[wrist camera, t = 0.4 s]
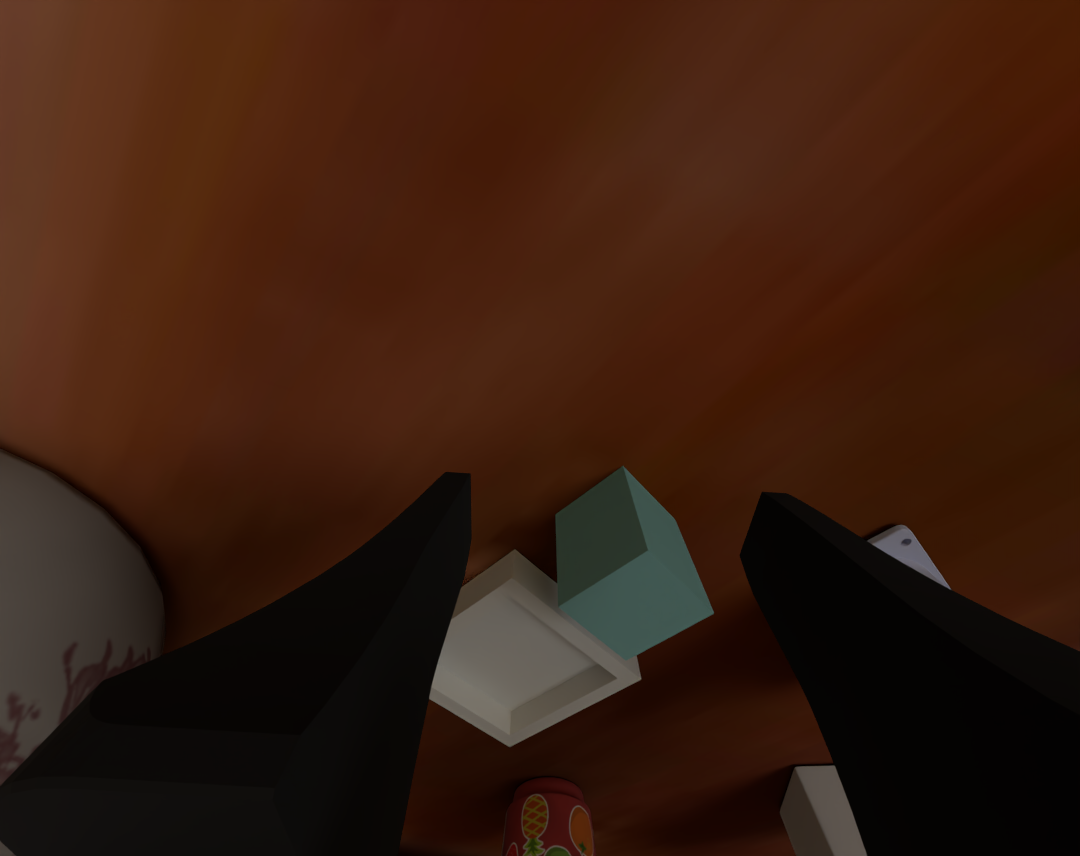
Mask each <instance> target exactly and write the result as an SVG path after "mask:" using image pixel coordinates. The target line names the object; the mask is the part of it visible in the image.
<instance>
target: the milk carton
mask: <svg viewBox="0 0 1080 856" xmlns="http://www.w3.org/2000/svg"><path fill="white" fill-rule="evenodd" d="M780 815H781V818H782V820H783V823H784V825H785V828H786V830H787V833H788V836H789V838H790V841H791V843H792V846H793V849H794V851H795V854H796V856H867V854H866V851H865V848H864V845H863V842H862V839H861V836H860V834H859V831H858V828H857V825H856V822H855V819H854V816H853V813H852V810H851V808H850V805H849V802H848V800H847V797H846V794H845V792H844V789H843V786H842V784H841V781H840V778H839V776H838V773H837V770H836V768H835V766H800V767H795V768H794V770H793V773H792V776H791V779H790V782H789V785H788V788H787V791H786V794H785V797H784V800H783V803H782V806H781V809H780Z"/></svg>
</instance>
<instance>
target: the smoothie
mask: <svg viewBox="0 0 1080 856" xmlns="http://www.w3.org/2000/svg"><path fill="white" fill-rule="evenodd" d="M501 856H596V852H595V844H594V836H593V827H592V819H591V811H590V809H589V808H588V806H587V805H586V804H585V803H584V798H583V793H582V791H581V790H580V788H579V787H578V786H576V785H575V784H574V783H572V782H570V781H567V780H564V779H561V778H555V777H541V778H535V779H532V780H529V781H526V782H524V783H523V784H521V785H520V786H519V787H517V789H516V791H515V793H514V798H513V803H511V804H510V805H509V807H508V809H507V811H506V821H505V829H504V838H503V846H502V855H501Z"/></svg>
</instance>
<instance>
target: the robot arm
mask: <svg viewBox="0 0 1080 856" xmlns="http://www.w3.org/2000/svg"><path fill="white" fill-rule="evenodd" d="M470 544H471V476H470V474H469V473H453V472H445V473H444V474H443V475H442V476H441V477H440V478H438V479H437V480H436V481H435V482H434V483H433V484H432V485H431V486H430V487H429V488H428V489H427V490H426V491H425V492H424V493H423V494H422V495H421V496H420V497H419V498H418V499H417V500H416V501H415V502H413V503H412V504H411V505H410V506H409V507H408V508H407V509H406V510H405V511H404V512H402V513H401V514H400V515H399V516H398V517H397V518H396V519H395V520H393V521H392V522H391V523H390V524H389V525H388V526H386V527H385V528H384V529H383V530H381V531H380V532H379V533H378V534H376V535H375V536H374V537H373V538H372V539H370V540H369V541H368V542H367V543H365V544H364V545H363V546H361V547H360V548H359V549H357V550H356V551H355V552H353V553H352V554H351V555H349V556H348V557H346V558H345V559H343V560H342V561H340V562H339V563H337V564H336V565H334V566H333V567H331V568H330V569H328V570H327V571H325V572H324V573H322V574H321V575H319V576H318V577H316V578H314V579H312V580H311V581H309V582H307V583H306V584H304V585H302V586H300V587H299V588H297V589H295V590H294V591H292V592H290V593H288V594H287V595H285V596H283V597H282V598H280V599H278V600H276V601H275V602H273V603H271V604H269V605H267V606H266V607H264V608H262V609H260V610H258V611H256V612H254V613H252V614H250V615H248V616H246V617H244V618H243V619H241V620H239V621H237V622H235V623H232V624H230V625H228V626H226V627H224V628H222V629H220V630H218V631H216V632H214V633H212V634H210V635H208V636H206V637H203V638H201V639H199V640H197V641H195V642H193V643H190V644H188V645H186V646H184V647H181V648H179V649H177V650H174V651H172V652H170V653H167V654H165V655H163V656H160V657H158V658H156V659H153V660H151V661H149V662H146V663H144V664H141V665H139V666H137V667H134V668H132V669H130V670H127V671H125V672H123V673H120V674H118V675H115V676H113V677H110V678H108V679H105V680H103V681H102V682H101V683H100V684H99V685H98V686H97V687H96V688H95V689H94V690H93V691H92V692H91V693H90V694H89V695H88V696H87V697H86V698H85V699H84V700H83V701H82V702H81V703H80V704H79V705H78V706H77V707H76V708H75V709H74V710H73V711H72V712H71V713H70V714H69V715H68V716H67V717H66V718H65V719H64V720H63V721H62V723H61V724H60V725H59V726H58V727H57V728H56V729H55V730H54V731H53V732H52V733H51V734H50V735H49V736H48V737H47V738H46V739H45V740H44V741H43V742H42V743H41V744H40V745H39V746H38V747H37V748H36V749H35V750H34V751H33V752H32V754H31V755H30V756H29V757H28V758H27V759H26V760H25V761H24V762H23V763H22V764H21V765H20V766H19V767H18V768H17V769H16V770H15V771H14V772H13V773H12V774H11V775H10V776H9V777H8V778H7V779H6V780H5V781H4V782H3V783H2V785H1V786H0V841H1V843H3V844H4V845H5V846H6V847H7V848H8V849H9V850H10V851H11V852H12V853H13V854H14V855H16V856H398V851H399V846H400V840H401V835H402V830H403V825H404V820H405V814H406V809H407V804H408V799H409V793H410V788H411V783H412V778H413V773H414V768H415V763H416V758H417V754H418V749H419V744H420V739H421V734H422V729H423V724H424V720H425V715H426V710H427V706H428V701H429V696H430V691H431V687H432V682H433V679H434V675H435V671H436V667H437V664H438V660H439V657H440V654H441V651H442V647H443V644H444V641H445V638H446V635H447V631H448V628H449V625H450V622H451V619H452V615H453V612H454V609H455V606H456V602H457V599H458V596H459V593H460V589H461V586H462V583H463V579H464V576H465V571H466V566H467V561H468V555H469V550H470ZM740 558H741V561H742V564H743V567H744V570H745V573H746V576H747V579H748V581H749V584H750V587H751V589H752V592H753V594H754V596H755V598H756V600H757V602H758V604H759V606H760V608H761V610H762V612H763V614H764V616H765V618H766V620H767V622H768V624H769V626H770V628H771V630H772V631H773V633H774V635H775V637H776V639H777V641H778V643H779V645H780V647H781V649H782V651H783V652H784V654H785V656H786V658H787V660H788V662H789V664H790V666H791V668H792V670H793V671H794V673H795V675H796V677H797V679H798V681H799V683H800V685H801V687H802V689H803V691H804V693H805V695H806V697H807V700H808V702H809V704H810V706H811V708H812V711H813V713H814V716H815V718H816V720H817V723H818V725H819V728H820V730H821V733H822V735H823V738H824V740H825V742H826V745H827V747H828V750H829V752H830V755H831V757H832V760H833V763H834V765H835V768H836V770H837V773H838V776H839V778H840V781H841V784H842V786H843V789H844V792H845V794H846V797H847V800H848V802H849V805H850V808H851V810H852V813H853V816H854V819H855V822H856V825H857V828H858V831H859V834H860V836H861V839H862V842H863V845H864V848H865V851H866V854H867V856H1080V651H1078V650H1075V649H1073V648H1071V647H1069V646H1066V645H1064V644H1062V643H1060V642H1057V641H1055V640H1053V639H1051V638H1048V637H1046V636H1044V635H1042V634H1039V633H1037V632H1035V631H1033V630H1031V629H1029V628H1026V627H1024V626H1022V625H1020V624H1018V623H1016V622H1014V621H1012V620H1010V619H1007V618H1005V617H1003V616H1001V615H999V614H997V613H995V612H993V611H991V610H989V609H987V608H986V607H984V606H982V605H980V604H978V603H976V602H974V601H972V600H970V599H968V598H966V597H964V596H962V595H960V594H958V593H956V592H954V591H952V590H951V589H950V587H949V586H948V584H947V583H946V581H945V580H944V578H943V577H942V575H941V574H940V572H939V571H938V570H937V568H936V567H935V565H934V564H933V562H932V561H931V559H930V558H929V556H928V555H927V553H926V552H925V551H924V549H923V548H922V546H921V545H920V543H919V542H918V540H917V539H916V537H915V536H914V534H913V533H912V532H911V531H910V530H909V529H908V528H907V527H906V526H904V525H897V526H894V527H892V528H890V529H888V530H886V531H884V532H882V533H881V534H879V535H877V536H875V537H873V538H871V539H869V540H867V541H866V540H864V539H863V538H861V537H859V536H858V535H856V534H854V533H853V532H851V531H850V530H848V529H846V528H845V527H843V526H842V525H840V524H838V523H837V522H835V521H834V520H832V519H830V518H829V517H827V516H826V515H824V514H822V513H821V512H819V511H817V510H816V509H814V508H812V507H811V506H809V505H807V504H806V503H804V502H802V501H800V500H798V499H797V498H795V497H793V496H791V495H789V494H787V493H772V492H762V493H761V496H760V499H759V501H758V504H757V507H756V510H755V513H754V516H753V519H752V521H751V524H750V527H749V530H748V533H747V536H746V538H745V541H744V544H743V547H742V550H741V553H740Z"/></svg>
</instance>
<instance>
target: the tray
mask: <svg viewBox="0 0 1080 856" xmlns="http://www.w3.org/2000/svg"><path fill="white" fill-rule="evenodd" d="M639 680H641V675H640V670H639V665H638V660H637V655H636V656H634V657H632V658H630V659H628V660H627V661H625V660H624V659H623V658H622V657H620V656H619V655H618V654H617V653H615V652H614V651H613V650H612V649H610V648H609V647H608V646H607V645H605V644H604V643H603V642H602V641H600V640H599V639H598V638H596V637H595V636H594V635H593V634H591V633H590V632H589V631H588V630H586V629H585V628H584V627H583V626H581V625H580V624H579V623H578V622H576V621H575V620H574V619H573V618H571V617H570V616H569V615H567V614H566V613H565V612H564V611H562V610H561V609H560V608H559V607H558V589H557V583H556V582H554V581H553V580H552V579H551V578H550V577H548V576H547V575H546V574H545V573H543V572H542V571H541V570H540V569H539V568H537V567H536V566H535V565H534V564H532V563H531V562H530V561H529V560H528V559H526V558H525V557H524V556H523V555H521V554H520V553H519V552H518V551H517V550H515V549H514V550H513V551H512V552H510V553H509V554H507V555H506V556H505V557H503V558H502V559H500V560H499V561H498V562H496V563H495V564H493V565H492V566H491V567H489V568H488V569H486V570H485V571H484V572H482V573H481V574H479V575H478V576H477V577H475V578H474V579H472V580H471V581H470V582H468V583H467V584H465V585H464V586H463V587H461V589H460V593H459V596H458V599H457V602H456V606H455V609H454V612H453V615H452V619H451V622H450V625H449V628H448V631H447V635H446V638H445V641H444V644H443V647H442V651H441V654H440V657H439V660H438V664H437V667H436V671H435V675H434V679H433V682H432V687H431V691H430V696H429V699H431V700H432V701H434V702H436V703H437V704H439V705H441V706H442V707H444V708H446V709H447V710H449V711H451V712H452V713H454V714H456V715H457V716H459V717H461V718H462V719H464V720H466V721H467V722H469V723H471V724H472V725H474V726H475V727H477V728H479V729H480V730H482V731H484V732H485V733H487V734H489V735H490V736H492V737H494V738H495V739H497V740H499V741H500V742H502V743H504V744H505V745H507V746H509V747H511V746H513V745H515V744H517V743H518V742H520V741H522V740H524V739H526V738H528V737H530V736H532V735H534V734H536V733H538V732H540V731H542V730H544V729H546V728H548V727H550V726H552V725H554V724H555V723H557V722H559V721H561V720H563V719H565V718H567V717H569V716H571V715H573V714H575V713H577V712H579V711H581V710H583V709H585V708H587V707H589V706H591V705H592V704H594V703H596V702H598V701H600V700H602V699H604V698H606V697H608V696H610V695H612V694H614V693H616V692H618V691H620V690H622V689H624V688H626V687H628V686H630V685H631V684H633V683H635V682H637V681H639Z"/></svg>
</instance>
